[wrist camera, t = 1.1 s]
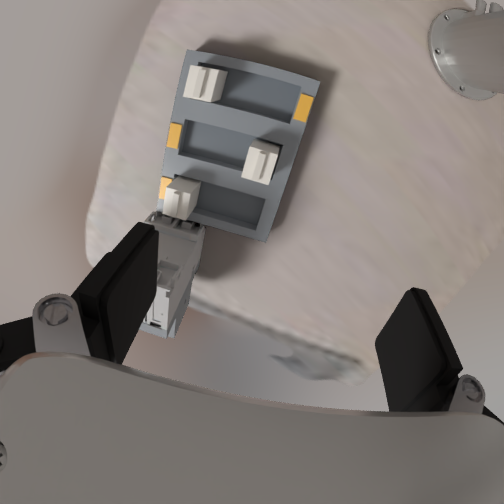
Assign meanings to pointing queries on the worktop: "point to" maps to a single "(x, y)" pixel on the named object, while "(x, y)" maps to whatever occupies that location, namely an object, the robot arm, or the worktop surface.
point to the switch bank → (236, 141)
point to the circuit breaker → (173, 272)
